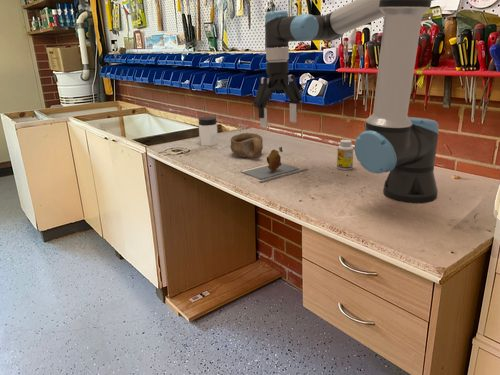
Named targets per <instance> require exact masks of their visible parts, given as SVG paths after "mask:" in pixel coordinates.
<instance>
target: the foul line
mask: <svg viewBox="0 0 500 375" xmlns="http://www.w3.org/2000/svg"><path fill="white" fill-rule="evenodd" d="M306 171H309V168H306V167H305V168H302V169H299V170H295V171H292V172H288V173H284V174H281V175H277V176H273V177H270V178H266V179H262V180H259V181H258V182H259V183H261V184H262V183H266V182H269V181H273V180H277V179H280V178H283V177H288V176H291V175H295V174H299V173H302V172H306Z"/></svg>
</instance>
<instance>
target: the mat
mask: <svg viewBox="0 0 500 375" xmlns="http://www.w3.org/2000/svg"><path fill="white" fill-rule="evenodd" d="M268 165H269V164H268V163H267V164H263V165H259V166H256V167H251V168H247V169H244V170H240V172H239V173H242V174H244V175H247V176H249V177H253V178H256V179H259V181H262V180H265V179H269V178H273V177H276V176H280V175H284V174H287V173H291V172H295V171H298V170H301V169H300V167H296V166H293V165H290V164H287V163H284V162H281V166H279V167H278V168H277V169H276V171H275V172H273V171H271V170H270V169H269V168H268Z"/></svg>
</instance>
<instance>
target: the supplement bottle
mask: <svg viewBox="0 0 500 375" xmlns="http://www.w3.org/2000/svg"><path fill="white" fill-rule="evenodd" d="M354 151H355V146H353V144H352V140H350V139H341V140H340V141H339V145H338V146H337V156H336V157H337V158H336V159H337V160H336V167H337V169H338V170H343V171H350V170H352V169H353V167H354V166H353V165H354V164H353V163H354Z"/></svg>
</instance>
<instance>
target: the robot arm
mask: <svg viewBox="0 0 500 375" xmlns="http://www.w3.org/2000/svg"><path fill="white" fill-rule="evenodd" d="M432 2H434V0H354V1H351V2H349V3H347V4H345V5H343V6H341V7H339V8H337V9H334V10H333V11H332V12H330V13H327V14H324V15H323V14H321V15H320V14H319V15H316V14H315V15H313V14H310V13H308V14H307V13H305V14H304V13H300V14H299V15H298V14H296V15H291V16H289V13H288V12H289V11H287V10H270V11H267V12H266V13H265V16H264V19H265V20H264V33H265V36H264V37H265V54H266V55H265V59H266V64H265V65H266V74H267V77H263V76H262V77H260V78H259V85H258V89H257V92H256V95H255V98H254V101H253V104H252V106H253V107H255V108H257V109H258V111H257V112H258V118H259V119H260V120H259V124H260V125H259V126H260V128H264V129H268V110H267V108H266V106H267V104H268V102H269V101H270V99H271V97H272V95H273V93H274V92H276V91H279V90H282V91H283V92H284V94H285V95H286V97H287V98H288V99H289V101H290V102H291V103H289V123H297V121H298V120H297V113H298V104H300V103H301V102H302V101H303V97H302V95H301V93H300V90H299V87H298V84H297V81H296V75H295V74H289V72H290V63H289V61H288V60H289V59H290V54H289V51H290V50H289V47H290V46H289V42H312V41H314V42H315V41H335V40H339V39H341V38H342V37H343V36H344V34H346V33H348V32H351V31H353V30H355V29H358V28H361V27H362V26H366V25H367V24H369V23H372V22H375V21H377V20H379V19H382V18H383V23H382V24H383V25H382V33H381V34H382V35H381V42H380V44H381V45H380V51H379V59H378V68H377V76H376V85H375V94H374V101H373V111H372V114H371V115H370V116H369V117H367V118H366V120H365V126H364V128H365V129H364V131H362V132H361V133H360V134H359V135H358V136H357V137H356V139H355V142H354V155H355V158H356V160H357V161H358V162H359V163H360V166H361V167H363V169H364V170H366V171H368V172H370V173H372V174H383V173H388V176H387V177H386V180H385V182H384V185H383V190H382V191H383V192H382V193H383V195H384V196H385V197H386V198H388V199H390V200H392V201H396V202H398V203H406V204H417V205H418V204H428V203H431V202H435V201H436V200H437V198H438V192H439V191H438V187H437V181H436V176H435V174H434V173H435V172H434V170H435V162H436V155H437V146H438V140H439V135H440V133H439V126H440V125H439V123H438V122H437V121H436V120H434V119H430V118H423V117H413V116H408V114H409V107H410V99H411V93H412V87H413V81H414V80H413V79H414V73H415V66H416V59H417V53H418V46H419V40H420V34H421V33H420V32H421V26H422V21H423V20H422V19H423V16H424V15H425V14H427V12H428V11H430V10H431V7H432Z"/></svg>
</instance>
